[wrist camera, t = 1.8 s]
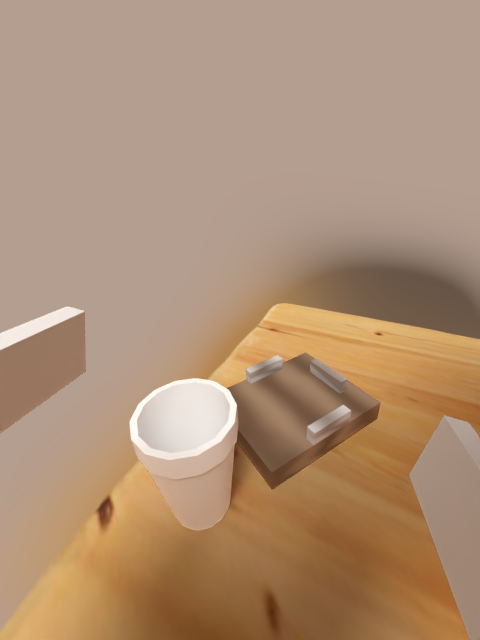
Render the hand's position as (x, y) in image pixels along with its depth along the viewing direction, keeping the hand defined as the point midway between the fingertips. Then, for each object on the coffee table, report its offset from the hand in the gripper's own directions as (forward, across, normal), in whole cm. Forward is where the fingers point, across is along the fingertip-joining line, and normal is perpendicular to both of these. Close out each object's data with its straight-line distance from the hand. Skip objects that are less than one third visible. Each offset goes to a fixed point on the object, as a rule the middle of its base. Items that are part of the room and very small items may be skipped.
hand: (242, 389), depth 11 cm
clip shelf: (+27, +6, -21) cm, 34 cm away
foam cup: (+13, -2, -25) cm, 28 cm away
